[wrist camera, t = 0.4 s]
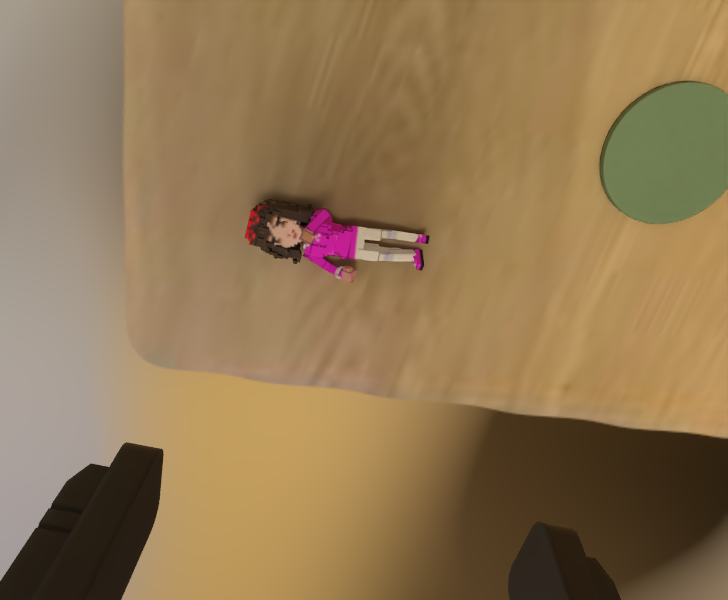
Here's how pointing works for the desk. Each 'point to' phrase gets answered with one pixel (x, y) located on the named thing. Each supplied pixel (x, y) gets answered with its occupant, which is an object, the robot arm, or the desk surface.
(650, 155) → the mat
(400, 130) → the desk surface
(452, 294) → the desk surface
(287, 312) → the desk surface
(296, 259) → the character figurine
